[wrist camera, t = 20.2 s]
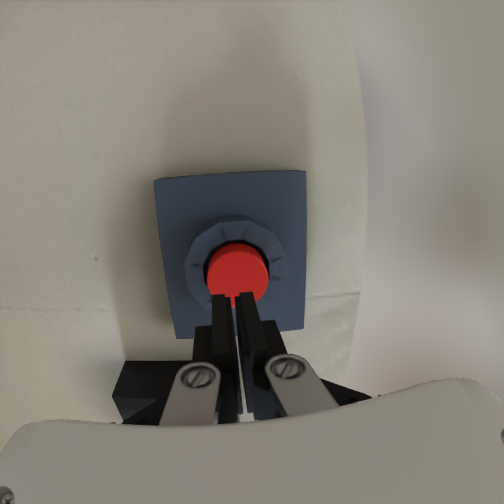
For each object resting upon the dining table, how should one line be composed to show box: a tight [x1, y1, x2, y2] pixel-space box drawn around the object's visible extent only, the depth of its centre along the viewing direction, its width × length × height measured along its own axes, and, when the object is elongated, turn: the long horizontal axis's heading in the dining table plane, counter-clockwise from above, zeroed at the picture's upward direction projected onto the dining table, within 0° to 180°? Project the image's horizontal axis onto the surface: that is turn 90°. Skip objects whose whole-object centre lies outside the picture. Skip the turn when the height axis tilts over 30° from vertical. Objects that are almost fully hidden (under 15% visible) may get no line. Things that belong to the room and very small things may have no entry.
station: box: [154, 170, 307, 339], centre depth 20 cm, size 12×10×4 cm
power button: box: [207, 243, 268, 307], centre depth 18 cm, size 4×4×2 cm
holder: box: [112, 360, 239, 423], centre depth 24 cm, size 10×10×5 cm
